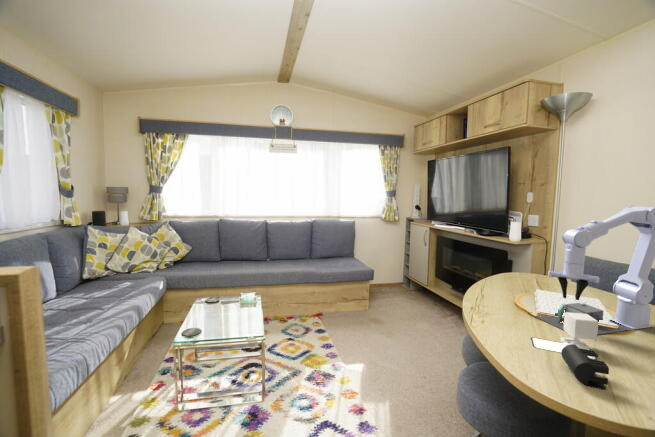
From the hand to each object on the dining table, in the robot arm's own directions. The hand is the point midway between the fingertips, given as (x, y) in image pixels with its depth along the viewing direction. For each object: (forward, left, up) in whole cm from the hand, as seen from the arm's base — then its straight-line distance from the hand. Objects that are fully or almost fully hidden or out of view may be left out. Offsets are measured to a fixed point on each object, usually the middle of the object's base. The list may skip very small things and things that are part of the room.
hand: (570, 298), depth 113 cm
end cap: (+28, +26, -10) cm, 39 cm away
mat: (-5, -1, -10) cm, 11 cm away
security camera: (+13, +13, -10) cm, 21 cm away
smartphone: (+19, +13, -10) cm, 25 cm away
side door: (0, -4, -10) cm, 10 cm away
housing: (-8, -1, -10) cm, 13 cm away
